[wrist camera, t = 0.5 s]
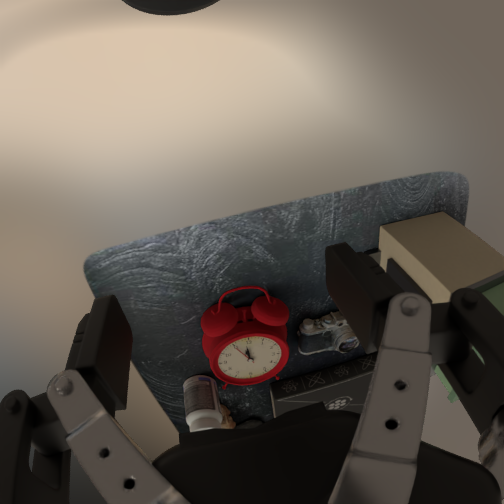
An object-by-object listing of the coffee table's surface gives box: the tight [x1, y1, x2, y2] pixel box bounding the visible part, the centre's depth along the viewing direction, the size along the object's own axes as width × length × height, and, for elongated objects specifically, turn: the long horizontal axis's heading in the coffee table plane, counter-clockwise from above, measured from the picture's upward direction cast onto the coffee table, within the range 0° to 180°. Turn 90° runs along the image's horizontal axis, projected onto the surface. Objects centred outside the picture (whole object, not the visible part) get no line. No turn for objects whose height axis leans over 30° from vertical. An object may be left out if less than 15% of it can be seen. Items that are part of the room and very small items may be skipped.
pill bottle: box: [183, 375, 222, 432], centre depth 39 cm, size 5×5×8 cm
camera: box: [297, 311, 359, 355], centre depth 39 cm, size 5×10×4 cm, turn 94°
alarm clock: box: [201, 286, 289, 389], centre depth 36 cm, size 10×6×15 cm
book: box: [269, 352, 378, 418], centre depth 49 cm, size 22×15×3 cm
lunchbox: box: [434, 282, 504, 403], centre depth 25 cm, size 11×9×4 cm
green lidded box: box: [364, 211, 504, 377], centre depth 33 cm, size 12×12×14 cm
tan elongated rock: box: [220, 404, 236, 429], centre depth 46 cm, size 10×4×5 cm
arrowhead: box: [233, 419, 263, 429], centre depth 50 cm, size 6×1×10 cm
